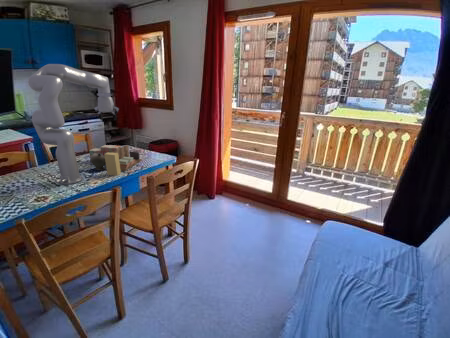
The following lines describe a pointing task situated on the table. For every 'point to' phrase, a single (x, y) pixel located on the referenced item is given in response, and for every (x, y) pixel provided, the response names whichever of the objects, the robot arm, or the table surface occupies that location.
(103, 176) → the table surface
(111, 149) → the stack of blocks
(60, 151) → the robot arm
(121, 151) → the shelf
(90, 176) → the table surface
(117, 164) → the book
